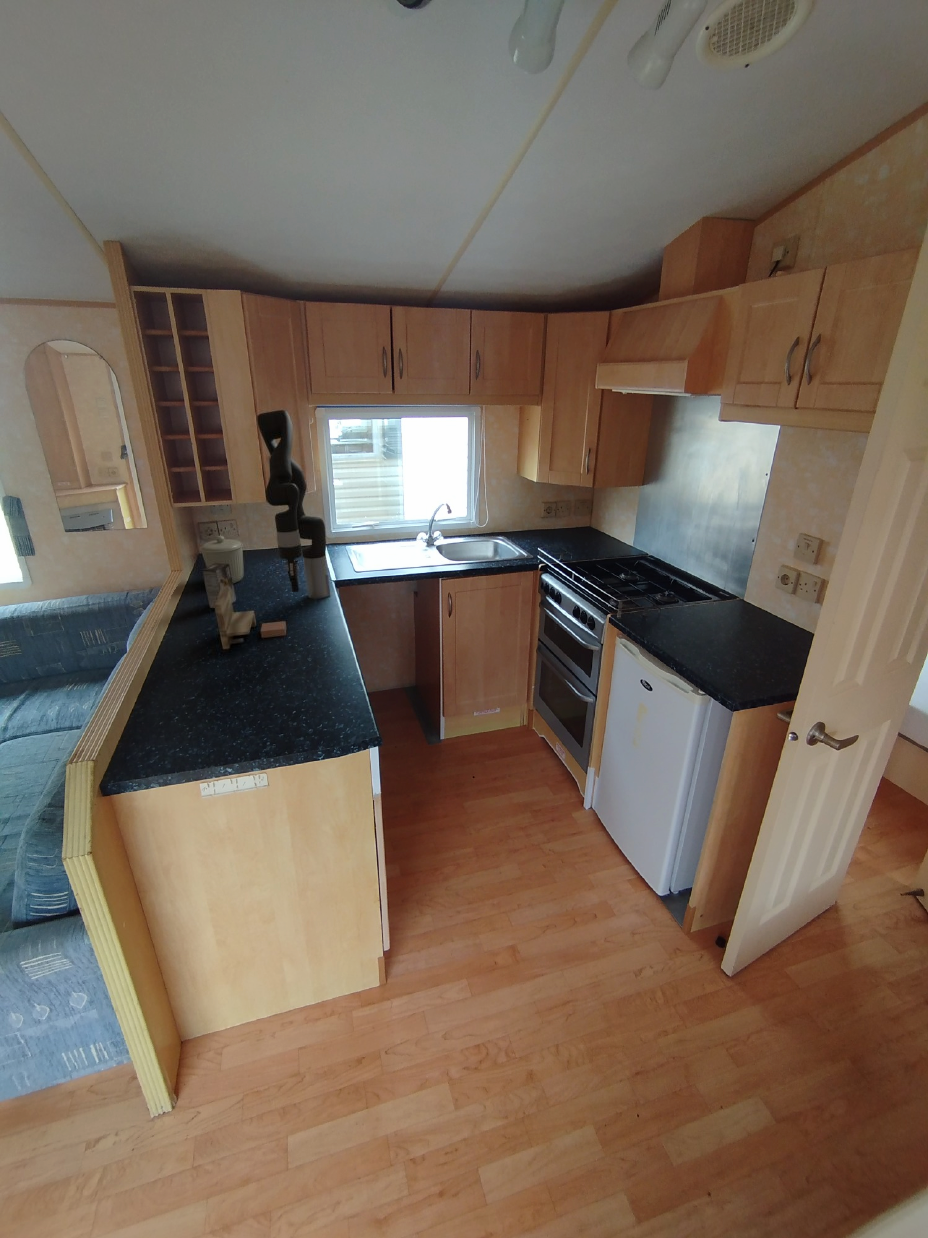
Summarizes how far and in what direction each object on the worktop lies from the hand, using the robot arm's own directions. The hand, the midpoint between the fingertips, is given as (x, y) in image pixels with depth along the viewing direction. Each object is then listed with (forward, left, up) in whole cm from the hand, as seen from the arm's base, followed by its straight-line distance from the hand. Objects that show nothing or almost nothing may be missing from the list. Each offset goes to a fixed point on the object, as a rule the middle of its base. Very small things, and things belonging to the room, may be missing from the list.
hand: (295, 591), depth 196 cm
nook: (+21, 0, -15) cm, 26 cm away
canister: (+33, -65, -15) cm, 75 cm away
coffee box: (+31, -35, -15) cm, 49 cm away
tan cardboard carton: (+9, 0, -15) cm, 18 cm away
